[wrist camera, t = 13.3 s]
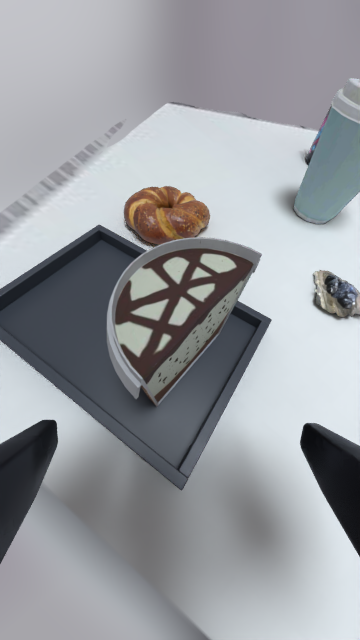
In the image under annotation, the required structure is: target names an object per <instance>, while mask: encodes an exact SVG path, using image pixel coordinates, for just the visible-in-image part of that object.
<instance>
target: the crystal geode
mask: <svg viewBox="0 0 360 640" xmlns="http://www.w3.org/2000/svg"><path fill="white" fill-rule="evenodd" d="M313 275H315V276H316V277H315V276H314V277H315V279H314V281H315V283H316V284H317V285H318V286H317V285H316V284H315V285H316V286H317V287H318V289H317V290H318V291H317V290H316V289H315V291H316V292H317V296H316V298H315V300H317V302H316V303H317V304H319V305H320V307H321V308H324V309H325V310H326V311H328V313H332V314H333V313H335V312H336V313H337V315H339V316H341V317H346V316H347V315H350V316H351V317H352V316H354V314H355V313H356V314H359V315H360V293H359V291H358V290H357V289H356V288H355V287H354V286H353V285H351V284H349V283H348V282H347V281H346V280H345V281H344V280H342V279H341V278H340V277H337V276H336V275H334V274H333V273H332V272H329V271H321V270H320V271H319V272H318V271H315V273H313Z"/></svg>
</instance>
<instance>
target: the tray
mask: <svg viewBox="0 0 360 640" xmlns="http://www.w3.org/2000/svg"><path fill="white" fill-rule="evenodd" d="M145 252H146V250H144V249H143V248H141V247H139V246H137V245H135V244H134V243H132V242H130V241H128V240H126V239H125V238H123V237H121V236H119V235H117V234H115V233H114V232H112V231H110V230H108V229H106V228H105V227H103V226H101V225H98V226H96V227H95V228H93V229H92V230H90V231H88V232H87V233H85V234H84V235H82V236H81V237H79V238H78V239H76V240H75V241H73V242H72V243H70V244H69V245H67V246H66V247H64V248H62V249H61V250H59V251H58V252H56V253H55V254H53V255H52V256H50V257H49V258H47V259H46V260H44V261H43V262H41V263H40V264H38V265H36V266H35V267H33V268H32V269H30V270H29V271H27V272H26V273H24V274H23V275H21V276H20V277H18V278H17V279H15V280H14V281H12V282H10V283H9V284H7V285H6V286H4V287H3V288H1V289H0V340H1V341H2V342H3V343H4V344H6V345H7V346H8V347H9V348H10V349H12V350H13V351H14V352H15V353H16V354H18V355H19V356H20V357H21V358H23V359H24V360H25V361H26V362H27V363H29V364H30V365H31V366H32V367H33V368H35V369H36V370H37V371H38V372H39V373H41V374H42V375H43V376H44V377H45V378H47V379H48V380H49V381H50V382H51V383H53V384H54V385H55V386H56V387H57V388H59V389H60V390H61V391H62V392H63V393H65V394H66V395H67V396H68V397H69V398H71V399H72V400H73V401H74V402H76V403H77V404H78V405H79V406H80V407H82V408H83V409H84V410H85V411H86V412H88V413H89V414H90V415H91V416H92V417H94V418H95V419H96V420H97V421H98V422H100V423H101V424H102V425H103V426H104V427H106V428H107V429H108V430H109V431H110V432H112V433H113V434H114V435H115V436H116V437H118V438H119V439H120V440H121V441H122V442H124V443H125V444H126V445H127V446H129V447H130V448H131V449H132V450H133V451H135V452H136V453H137V454H138V455H139V456H141V457H142V458H143V459H144V460H145V461H147V462H148V463H149V464H150V465H151V466H153V467H154V468H155V469H156V470H157V471H159V472H160V473H161V474H162V475H163V476H165V477H166V478H167V479H168V480H169V481H171V482H172V483H173V484H174V485H175V486H177V487H178V488H179V489H180V490H182V489H183V488H184V486H185V484H186V482H187V480H188V478H189V476H190V474H191V472H192V471H193V469H194V467H195V465H196V463H197V461H198V459H199V457H200V455H201V453H202V452H203V450H204V448H205V446H206V444H207V442H208V440H209V438H210V436H211V434H212V433H213V431H214V429H215V427H216V425H217V423H218V421H219V419H220V417H221V415H222V414H223V412H224V410H225V408H226V406H227V404H228V402H229V400H230V398H231V396H232V395H233V393H234V391H235V389H236V387H237V385H238V383H239V381H240V379H241V377H242V376H243V374H244V372H245V370H246V368H247V366H248V364H249V362H250V360H251V358H252V357H253V355H254V353H255V351H256V349H257V347H258V345H259V343H260V341H261V339H262V338H263V336H264V334H265V332H266V330H267V328H268V326H269V324H270V322H271V319H270V318H268V317H266V316H264V315H262V314H261V313H259V312H257V311H255V310H253V309H252V308H250V307H248V306H246V305H244V304H242V303H241V302H239V301H237V302H236V304H235V306H234V308H233V310H232V311H231V313H230V315H229V317H228V319H227V321H226V323H225V324H224V326H223V328H222V330H221V332H220V334H219V335H218V336H217V337H216V339H215V340H214V341H213V342H212V343H211V344H210V346H209V347H208V348H207V349H206V350H205V351H204V353H203V354H202V355H201V356H200V357H199V358H198V360H197V361H196V362H195V363H194V364H193V365H192V367H191V368H190V369H189V370H188V371H187V372H186V374H185V375H184V376H183V377H182V378H181V379H180V381H179V382H178V383H177V384H176V385H175V386H174V388H173V389H172V390H171V391H170V392H169V393H168V395H167V396H166V397H165V398H164V399H163V400H162V402H161V403H160V404H159V405H158V406H157V407H156V406H155V404H154V403H153V402H152V401H151V400H150V399H149V397H148V396H147V395H146V393H145V392H144V390H143V389H142V387H140V391H139V397H138V398H137V399H135V398H134V396H133V395H132V394H131V393H130V392H129V391H128V390H127V388H126V387H125V386H124V384H123V383H122V381H121V379H120V378H119V376H118V375H117V373H116V371H115V369H114V366H113V363H112V361H111V358H110V355H109V350H108V345H107V312H108V306H109V301H110V298H111V296H112V293H113V290H114V288H115V286H116V284H117V282H118V280H119V278H120V277H121V275H122V274H123V272H124V271H125V269H126V268H127V267H128V266H129V265H130V264H131V263H132V262H133V261H134V260H135V259H136V258H138V257H139V256H140V255H141V254H143V253H145Z"/></svg>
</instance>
